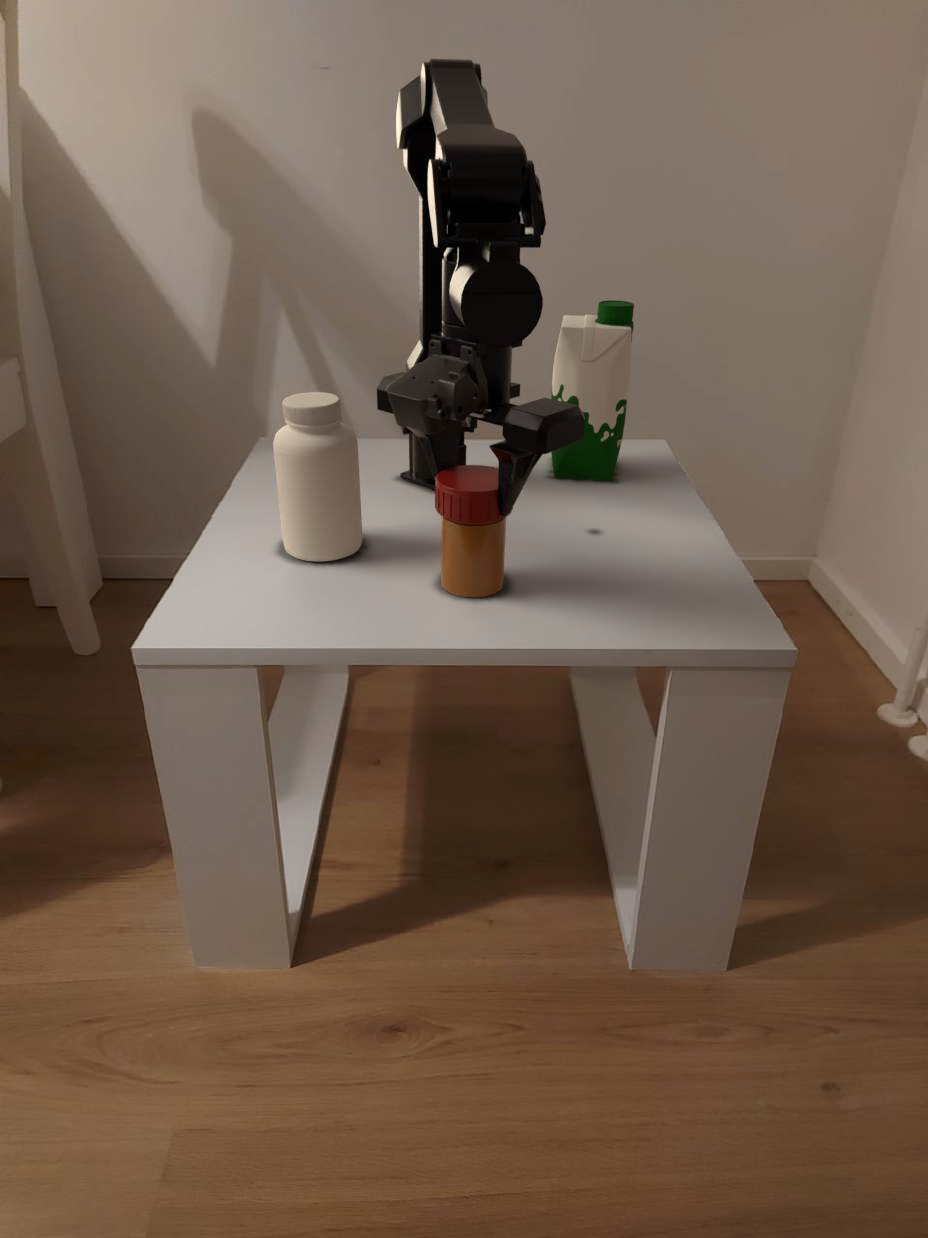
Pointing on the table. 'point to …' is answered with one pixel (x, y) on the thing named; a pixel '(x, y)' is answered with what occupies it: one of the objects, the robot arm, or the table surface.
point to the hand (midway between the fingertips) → (473, 503)
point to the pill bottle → (317, 479)
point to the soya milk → (594, 387)
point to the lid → (468, 494)
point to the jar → (472, 557)
